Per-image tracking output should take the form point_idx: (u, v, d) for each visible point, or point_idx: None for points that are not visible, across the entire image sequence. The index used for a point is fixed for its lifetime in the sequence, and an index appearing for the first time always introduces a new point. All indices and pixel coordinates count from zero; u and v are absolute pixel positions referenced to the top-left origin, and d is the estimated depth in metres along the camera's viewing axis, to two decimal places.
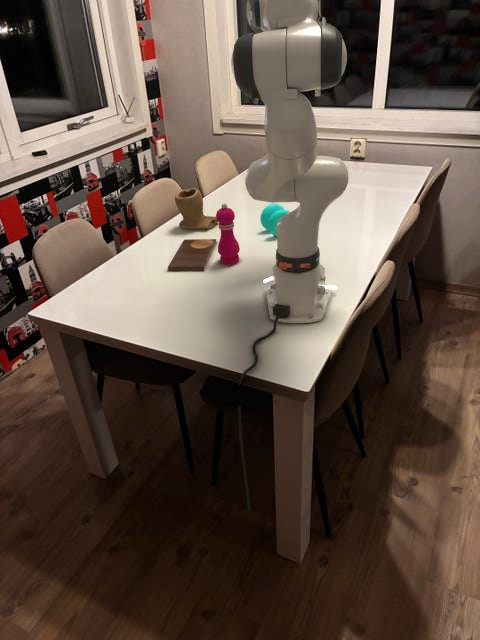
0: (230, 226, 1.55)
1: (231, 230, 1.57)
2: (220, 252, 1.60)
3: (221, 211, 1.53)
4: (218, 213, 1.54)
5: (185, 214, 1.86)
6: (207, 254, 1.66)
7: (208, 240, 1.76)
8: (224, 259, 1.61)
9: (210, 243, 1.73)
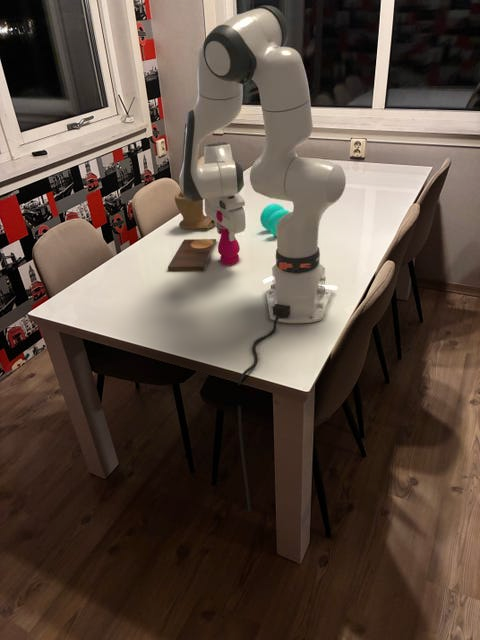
0: None
1: None
2: (219, 251, 1.60)
3: None
4: (218, 212, 1.54)
5: (185, 214, 1.86)
6: (207, 254, 1.66)
7: (208, 240, 1.76)
8: (224, 259, 1.61)
9: (210, 243, 1.73)
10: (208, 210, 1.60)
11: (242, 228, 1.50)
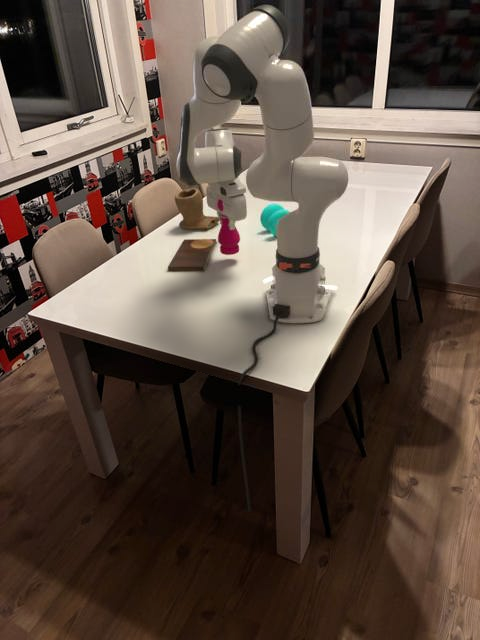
0: None
1: None
2: (219, 241, 1.58)
3: None
4: (219, 201, 1.52)
5: (185, 214, 1.86)
6: (207, 254, 1.66)
7: (208, 240, 1.76)
8: (224, 248, 1.59)
9: (210, 243, 1.73)
10: (210, 199, 1.58)
11: (243, 215, 1.47)
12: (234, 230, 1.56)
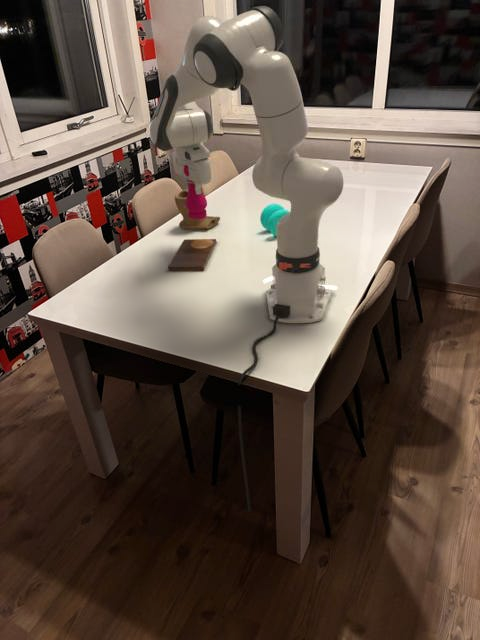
0: None
1: None
2: (187, 206, 1.64)
3: None
4: (185, 166, 1.57)
5: (185, 214, 1.86)
6: (207, 254, 1.66)
7: (208, 240, 1.76)
8: (191, 213, 1.65)
9: (210, 243, 1.73)
10: (177, 166, 1.63)
11: (208, 179, 1.53)
12: (201, 195, 1.62)
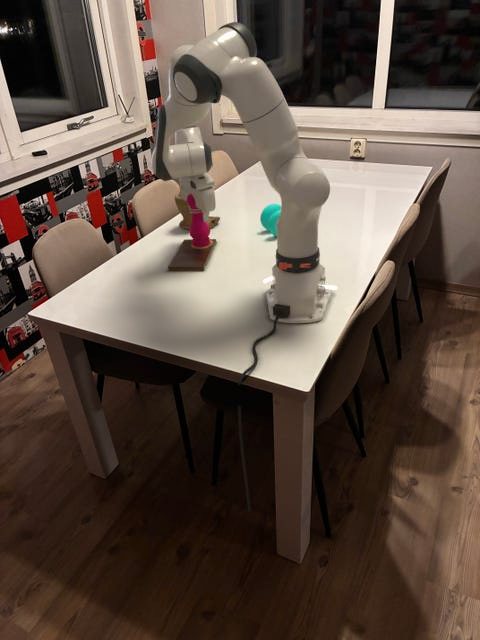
0: (200, 210, 1.65)
1: (201, 214, 1.66)
2: (191, 234, 1.70)
3: (191, 195, 1.63)
4: (188, 197, 1.63)
5: (185, 214, 1.86)
6: (207, 254, 1.66)
7: None
8: (195, 241, 1.71)
9: (210, 243, 1.73)
10: (183, 192, 1.69)
11: (212, 207, 1.58)
12: (204, 224, 1.68)
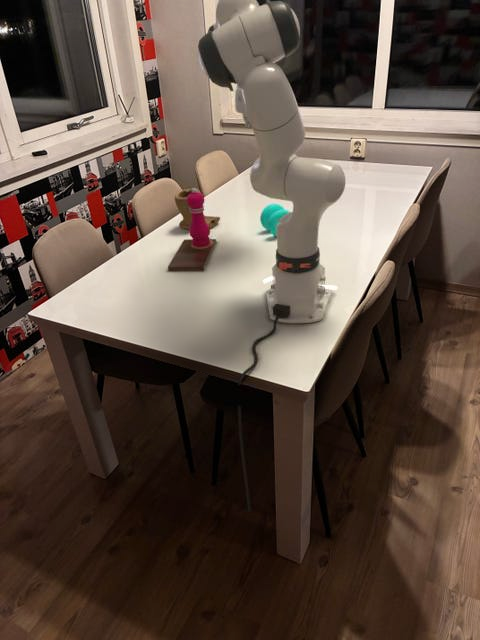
0: (200, 210, 1.65)
1: (201, 214, 1.66)
2: (191, 234, 1.70)
3: (191, 195, 1.63)
4: (188, 197, 1.63)
5: (185, 214, 1.86)
6: (207, 254, 1.66)
7: None
8: (195, 241, 1.71)
9: (210, 243, 1.73)
10: (239, 103, 1.59)
11: None
12: (204, 224, 1.68)
